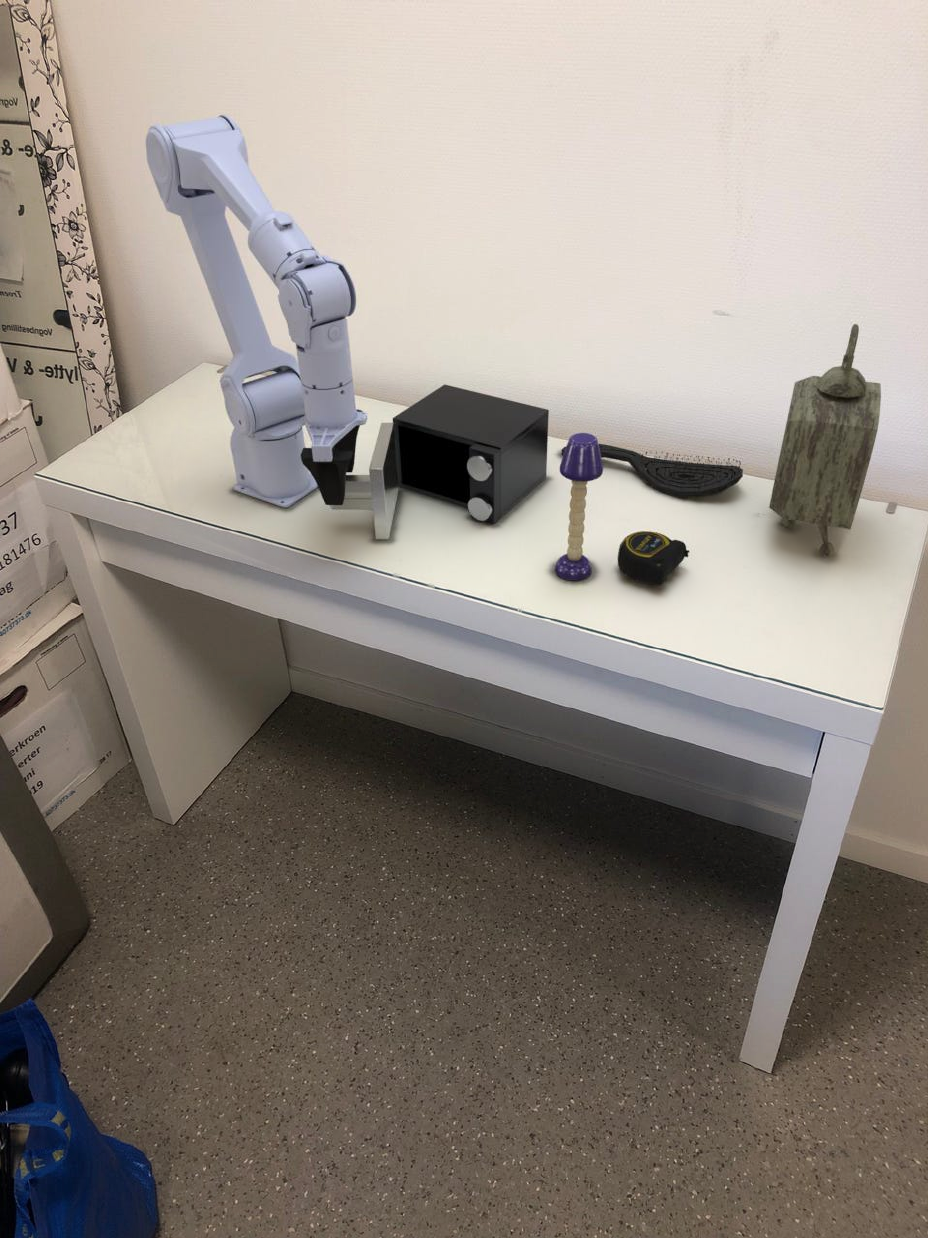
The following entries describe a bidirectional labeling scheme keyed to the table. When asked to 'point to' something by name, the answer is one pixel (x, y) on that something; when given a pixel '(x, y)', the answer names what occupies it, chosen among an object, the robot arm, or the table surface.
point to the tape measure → (650, 556)
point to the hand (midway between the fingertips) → (339, 486)
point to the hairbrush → (677, 473)
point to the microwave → (472, 450)
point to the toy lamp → (578, 500)
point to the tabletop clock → (827, 447)
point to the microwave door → (376, 484)
